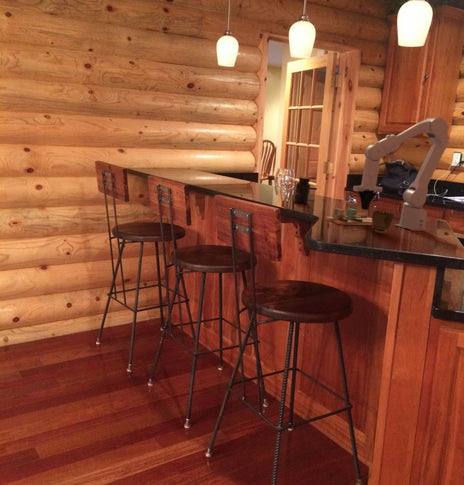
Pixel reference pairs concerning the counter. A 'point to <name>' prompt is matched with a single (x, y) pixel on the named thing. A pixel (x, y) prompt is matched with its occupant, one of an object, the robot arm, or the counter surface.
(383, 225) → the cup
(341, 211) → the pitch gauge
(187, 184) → the counter surface
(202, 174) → the counter surface
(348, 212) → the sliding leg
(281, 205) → the counter surface
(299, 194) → the supplement bottle
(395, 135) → the robot arm
